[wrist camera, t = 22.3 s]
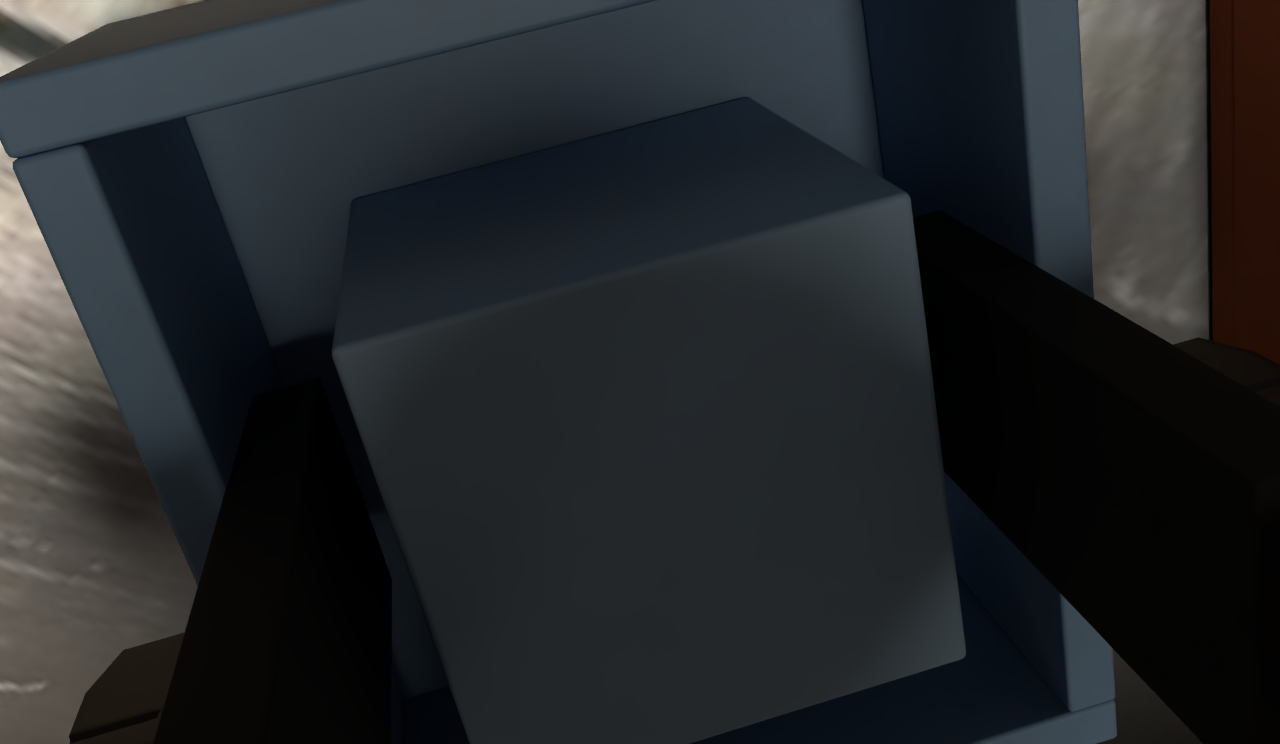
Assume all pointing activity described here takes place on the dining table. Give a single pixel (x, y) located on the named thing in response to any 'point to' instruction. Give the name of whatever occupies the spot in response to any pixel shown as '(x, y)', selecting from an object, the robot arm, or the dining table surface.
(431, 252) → the slate-blue block
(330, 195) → the slate-blue bin
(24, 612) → the dining table surface
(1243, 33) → the terracotta bin
